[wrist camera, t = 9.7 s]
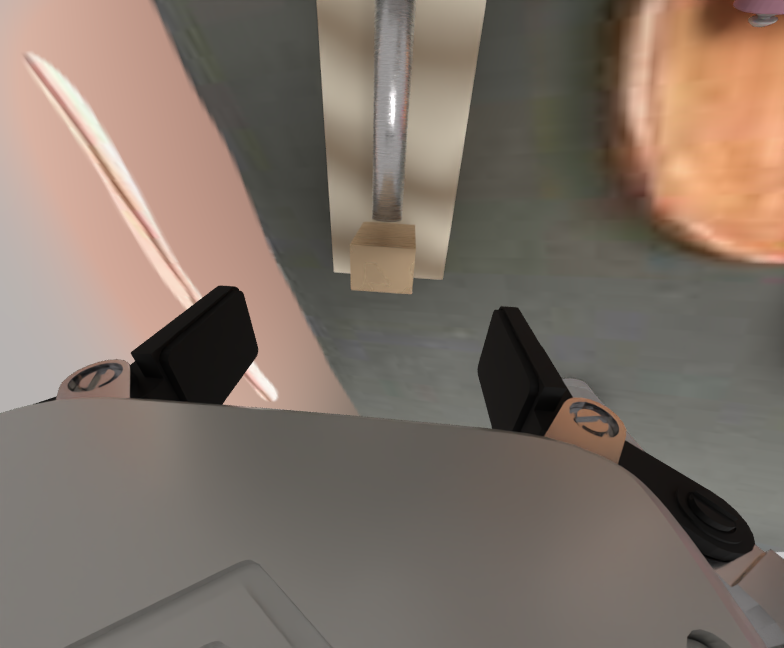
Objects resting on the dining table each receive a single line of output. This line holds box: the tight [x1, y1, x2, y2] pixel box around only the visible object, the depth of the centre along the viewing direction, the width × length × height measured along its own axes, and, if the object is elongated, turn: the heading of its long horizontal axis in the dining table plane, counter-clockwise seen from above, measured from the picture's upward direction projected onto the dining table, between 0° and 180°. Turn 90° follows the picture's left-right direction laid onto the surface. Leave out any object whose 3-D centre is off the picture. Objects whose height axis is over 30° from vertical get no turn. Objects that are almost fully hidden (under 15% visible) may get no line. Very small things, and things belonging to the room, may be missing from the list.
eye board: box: [316, 0, 486, 280], centre depth 15 cm, size 32×10×10 cm, turn 177°
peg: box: [350, 0, 416, 294], centre depth 17 cm, size 16×4×6 cm, turn 177°
